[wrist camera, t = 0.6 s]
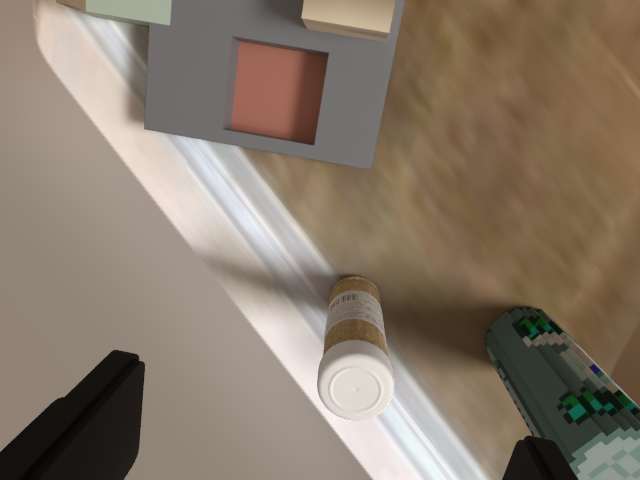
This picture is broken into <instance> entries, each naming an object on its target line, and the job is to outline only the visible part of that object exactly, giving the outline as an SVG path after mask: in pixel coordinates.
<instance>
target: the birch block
mask: <svg viewBox="0 0 640 480" xmlns="http://www.w3.org/2000/svg"><path fill="white" fill-rule="evenodd" d="M394 6H395V0H304V3H303V10H302V17H301V18H302V20H303V22H304V24H305V26H306V28H307V29H309V30H315V31H321V32H327V33H333V34H339V35H344V36H350V37H356V38H362V39H368V40H374V41H380V42H386V40H387V37H388V35H389V31H390V26H391V21H392V16H393V11H394Z"/></svg>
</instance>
